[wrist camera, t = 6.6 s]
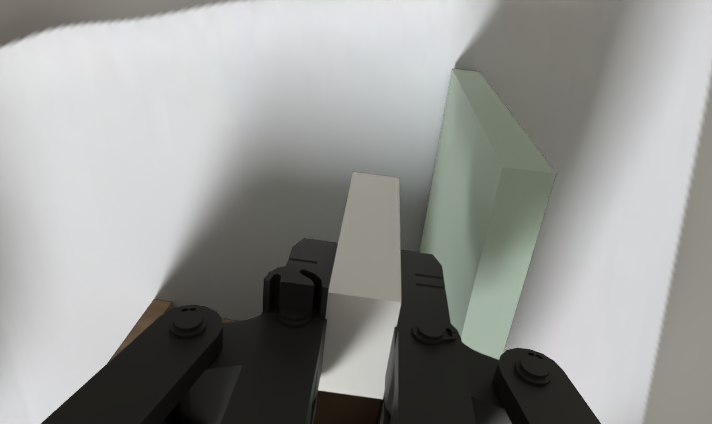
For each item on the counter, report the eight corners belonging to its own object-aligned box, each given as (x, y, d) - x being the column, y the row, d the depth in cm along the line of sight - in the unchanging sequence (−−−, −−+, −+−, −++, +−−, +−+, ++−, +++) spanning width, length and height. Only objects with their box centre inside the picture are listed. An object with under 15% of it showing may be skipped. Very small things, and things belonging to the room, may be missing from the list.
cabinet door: (452, 68, 21) (502, 167, 11) (507, 74, 21) (610, 179, 11) (404, 338, 28) (407, 556, 18) (446, 343, 28) (474, 565, 18)
